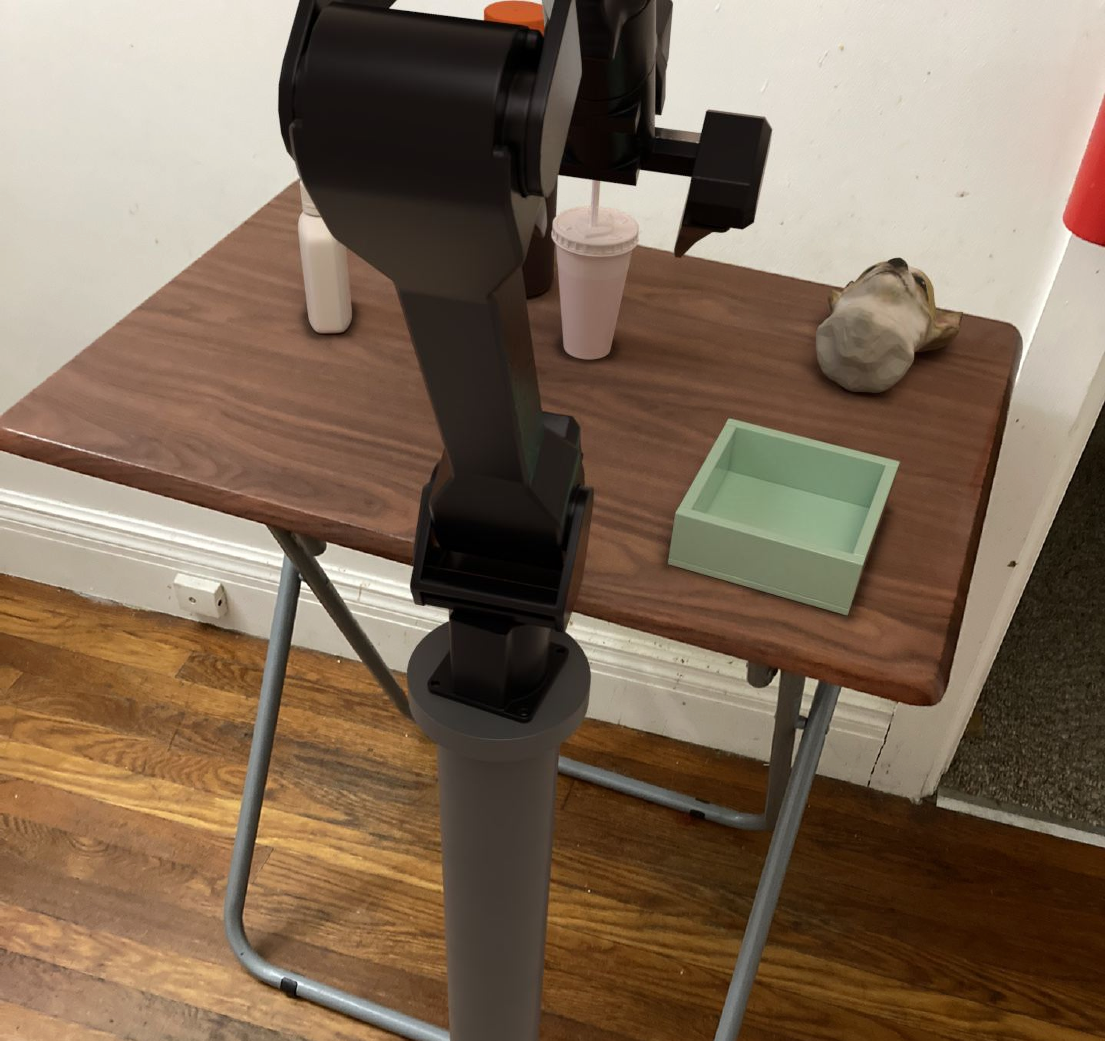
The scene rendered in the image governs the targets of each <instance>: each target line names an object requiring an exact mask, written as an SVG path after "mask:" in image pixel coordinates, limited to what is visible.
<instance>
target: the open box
mask: <svg viewBox="0 0 1105 1041" xmlns="http://www.w3.org/2000/svg"><path fill="white" fill-rule="evenodd" d="M900 464H901V462H900V461H899V460H895V459H892V458H887V457H884V456H880V455H876V454H872V453H868V452H863V451H861V450H856V449H852V448H848V447H844V446H840V445H836V444H833V443H828V442H824V441H820V440H817V439H813V438H809V437H805V436H801V435H796V434H794V433H790V432H785V431H781V430H777V429H773V428H769V427H766V426H761V425H757V424H754V423H750V422H745V421H743V420H738V419H734V418H728V419H727V420H726V422H725V424H724V425H723V428H722V430H721V431H720V433H719V435H718V436H717V439H716V440H715V442H714V444H713V446H712V447H711V448H710V451H709V452H708V455H707V456H706V458H705V459H704V462H703V463H702V465H701V467H700V469H699V470H698V472H697V474H696V476H695V478H694V479H693V481H692V483H691V485H690V486H689V488H688V489H687V491H686V493H685V495H684V497H683V499H682V500H681V503H680V504H679V506H678V507H677V509H676V510H675V513H674V520H673V526H672V531H671V532H672V533H671V539H670V546H669V552H668V560H667V565H670V566H673V567H676V568H680V569H683V570H687V571H691V572H694V573H698V574H700V575H705V576H707V577H711V578H715V579H718V580H721V581H725V582H729V583H732V584H735V585H739V586H742V587H746V588H749V589H753V590H756V591H759V592H764V593H766V594H770V595H773V596H778V597H781V598H784V599H787V600H791V601H795V602H799V603H800V604H801V603H802V604H805V605H808V606H812V607H816V608H818V609H819V608H820V609H822V610H825V611H830V612H833V613H837V614H840V615H843V616H849V613H850V612H851V611H850V610H851V608H852V605H853V602H854V600H855V596H856V593H857V590H858V589H859V588H858V587H859V585H860V582H861V579H862V577H863V574H864V572H865V568H866V566H867V563H868V559H869V556H870V554H871V551H872V549H873V546H874V543H875V540H876V537H877V534H878V533H879V532H878V531H879V529H880V527H881V526H880V525H881V522H882V520H883V518H884V514H885V512H886V509H887V505H888V502H889V500H890V495H891V493H892V489H893V486H894V483H895V479H896V476H897V474H898V470H899V466H900Z"/></svg>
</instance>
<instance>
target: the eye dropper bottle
mask: <svg viewBox="0 0 1105 1041" xmlns="http://www.w3.org/2000/svg"><path fill="white" fill-rule="evenodd" d="M299 189H300V199H301V208H302V212H301V213H300V215H299V218H298V221H297V222H298V223H297V232H298V242H299V251H300V258H301V259H300V260H301V266H302V277H303V284H304V293H305V301H306V302H305V303H306V308H307V310H306V311H307V316H308V322H309V324H310V326H311V328H312V330H314V331H315V332H316V333H317V334H341V333H344V332H346V331H347V329H348V328H349V326H350V324H351V322H352V320H353V319H352V318H353V310H352V309H353V306H352V297H351V296H352V295H351V286H350V285H351V284H350V276H349V275H350V274H349V265H348V264H349V262H348V252H347V247H345V246H344V245H343V244H341V243H340V242H339V241H337V240H336V239H335V238H334V237H333V236H332V235H331V233H330V232H329V230H328V229H327V227H326V225H325V223H324V221H323V220H322V218H321V216H320V214H319V212H318V211H317V209H316V207H315V205H314V203H313V202H312V200H311V198H310V196H309V194H308V193H307V191H306V189H305V187H304V185H303V184H302V181H301V180H300V181H299Z"/></svg>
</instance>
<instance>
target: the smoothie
mask: <svg viewBox="0 0 1105 1041" xmlns="http://www.w3.org/2000/svg"><path fill="white" fill-rule="evenodd" d="M600 193H601V181H596V180H591V198H590V205H586V206H585V205H584V206H575V207H572V208H568V209H565V210H563V211H561V212H560V213H558V214H556V217H555V218H554V220H553V228H552V239H553V241H554V242H555V250H556V264H557V275H558V276H557V277H558V288H559V301H560V302H559V304H560V315H561V328H562V343H563V349H564V351H565V352H566V353H567V354H568V355H569V356H570V357H573V358H576V359H580V360H581V359H582V360H597V359H601V358H604V357H607V355H609V354H610V352H611V349H612V344H613V341H614V335H615V332H616V326H617V322H618V317H619V313H620V308H621V305H622V304H621V303H622V299H623V294H624V290H625V286H626V282H627V276H628V273H629V272H628V270H629V268H630V263H631V258H632V254H633V250H634V249H635V248H636V247H637V246H638V244H639V242H640V239H639V234H640V233H639V232H640V226H639V223H638V222H637V220H636V219H635V218H634V217H632V216H631V215H630V214H628V213H626V212H624V211H621V210H618V209H615V208H611V207H605V206H600V205H599V204H600Z"/></svg>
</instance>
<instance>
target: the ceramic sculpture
mask: <svg viewBox="0 0 1105 1041" xmlns="http://www.w3.org/2000/svg"><path fill="white" fill-rule="evenodd" d="M935 299H936V298H935V289H934V285H933V283H932V281H931V279H930V278H929V277H928V275H927V274H926V273H925V272H924V271H923V270H922V269H919V268H917V267H914V266H910V265H909V264H908V263H907V261H906V260H905V259H904V258H902V257H893V258H890V259H888V260H884V261H880V262H877V263H874V264H873V265H871V266H869V267H867V268H866V269H864V270H863V272H861V274H860V275H859V276H858V277H857V278H856V279H855V280H850V281H849V282H848V283H847V284H845V286H844V288H843V289H841V290H835V289H832V290H830V291H829V293H828V295H827V302H828V306H829V310H830V312H831V314H830V316H829V317H828V318H826V319H825V320H824V321H823V322H822V323H821V324H819V325H818V327H817V328H816V332H815V353H816V358H817V362H818V364H819V368H820V369H821V371H822V373H823V374H824V375H825V376H826V377H827V378H828V379H829V380H831V381H833V382H835V383H836V384H838V385H839V386H840V387H842V388H844V389H845V390H847V391H849V392H853V393H872V394H877V393H884V392H886V391H888V390H889V389H891V388H892V387H894V386H895V385H896V384H897V383H898V382H900V381H901V380H902V379H903V377H904V376H905V375H906V374H907V372H908V370H909V369H910V368H911V366H912V365H913V363H914V360H915V353H922V352H927V351H932V350H937V349H941V348H944V347H945V346H947V345H948V344H950V343H952V341H953V340H955V339H956V338H957V336H958V335H959V333H960V331H961V327H962V326H961V324H962V321H963V316H964V311H956V312H947V313H946V312H944V311H943V310H940V309H937V306H936V300H935Z"/></svg>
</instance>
